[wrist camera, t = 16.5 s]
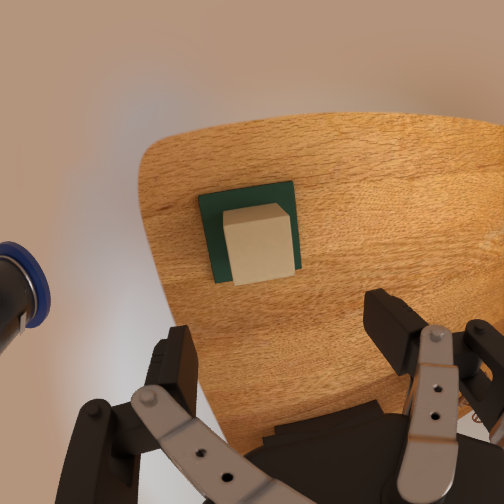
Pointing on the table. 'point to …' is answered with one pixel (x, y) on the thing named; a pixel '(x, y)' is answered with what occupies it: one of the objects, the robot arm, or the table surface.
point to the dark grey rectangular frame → (326, 419)
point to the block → (259, 243)
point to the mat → (237, 199)
